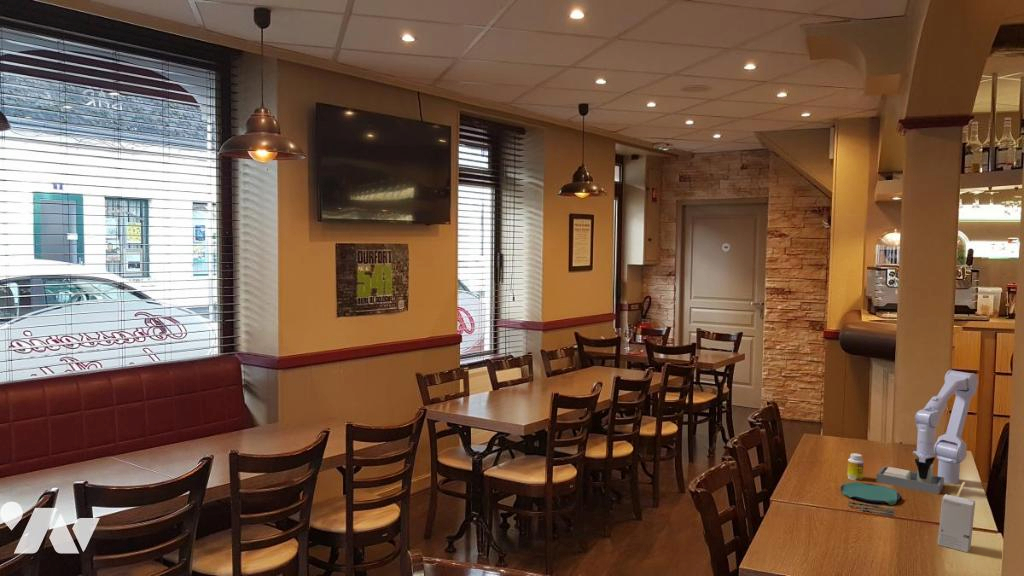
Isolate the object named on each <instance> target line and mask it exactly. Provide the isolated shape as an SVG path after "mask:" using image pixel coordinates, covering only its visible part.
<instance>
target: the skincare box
mask: <svg viewBox="0 0 1024 576" xmlns="http://www.w3.org/2000/svg"><path fill="white" fill-rule="evenodd" d="M975 508H976V500H972V499H969V498H964V497H960V496H957V495H956V496H955V495H951V494H947V493H946V494H944V495H943V496H942V500H941V509H940V519H939V529H938V536H937V537H938V538H937V545H938V546H940V547H944V548H948V549H953V550H957V551H961V552H965V553H968V552H969V551H970V549H971V547H972V537H973V530H974V529H973V527H974V519H975Z"/></svg>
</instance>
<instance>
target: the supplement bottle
mask: <svg viewBox="0 0 1024 576" xmlns="http://www.w3.org/2000/svg"><path fill="white" fill-rule="evenodd" d="M864 465H865V464H864V460H863V457H862V454H860V453H855V452H853V453H852V452H851V453H850V457H849V458H848V459H847V471H846V472H847V477H846V478H847V479H849V480H852V481H856V482H859V481H863V480H864V479H863V478H864Z"/></svg>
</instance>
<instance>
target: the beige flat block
mask: <svg viewBox="0 0 1024 576" xmlns="http://www.w3.org/2000/svg"><path fill="white" fill-rule="evenodd" d="M887 467H888V468H887V470H886V471H885V473H884V474H883V475H888V476H893V477H898V478H904V479H909V480H910V479H911V473H910V471H911V470H908V469H902V468H897V467H891V466H887Z"/></svg>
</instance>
